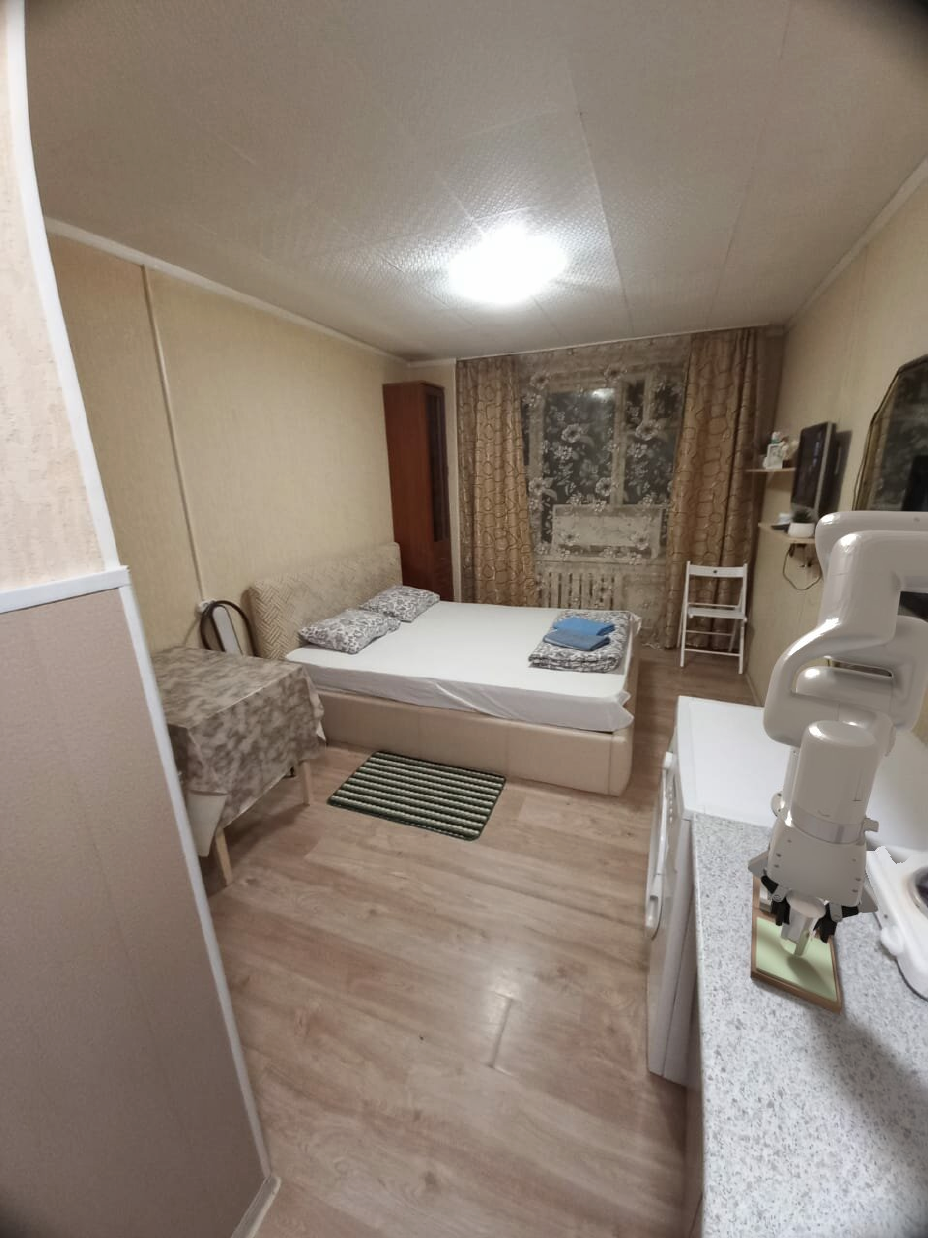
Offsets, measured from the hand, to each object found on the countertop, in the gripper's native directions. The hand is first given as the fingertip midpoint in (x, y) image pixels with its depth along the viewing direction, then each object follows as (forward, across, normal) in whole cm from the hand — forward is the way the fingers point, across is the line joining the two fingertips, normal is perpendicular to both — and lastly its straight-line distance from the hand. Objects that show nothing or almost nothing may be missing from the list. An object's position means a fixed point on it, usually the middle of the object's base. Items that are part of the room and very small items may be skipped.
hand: (800, 925), depth 67 cm
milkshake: (+4, 0, 0) cm, 4 cm away
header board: (+7, 0, -6) cm, 9 cm away
